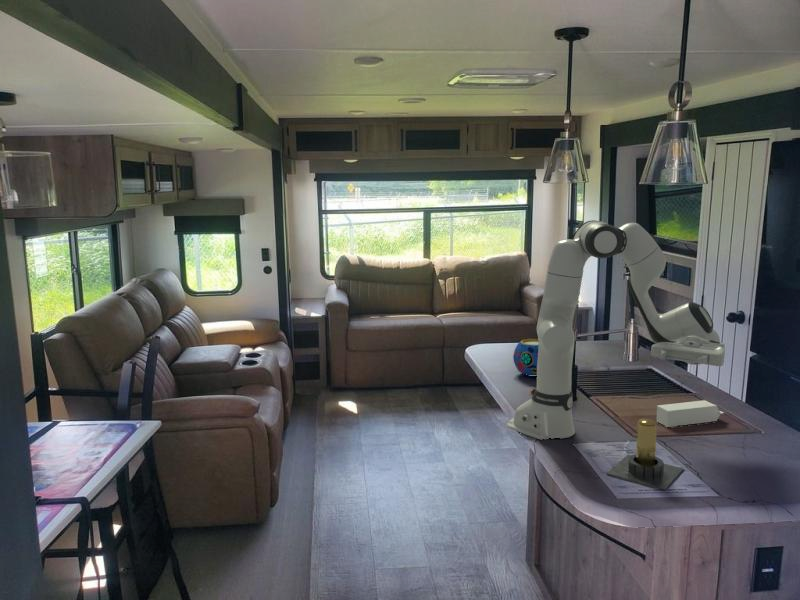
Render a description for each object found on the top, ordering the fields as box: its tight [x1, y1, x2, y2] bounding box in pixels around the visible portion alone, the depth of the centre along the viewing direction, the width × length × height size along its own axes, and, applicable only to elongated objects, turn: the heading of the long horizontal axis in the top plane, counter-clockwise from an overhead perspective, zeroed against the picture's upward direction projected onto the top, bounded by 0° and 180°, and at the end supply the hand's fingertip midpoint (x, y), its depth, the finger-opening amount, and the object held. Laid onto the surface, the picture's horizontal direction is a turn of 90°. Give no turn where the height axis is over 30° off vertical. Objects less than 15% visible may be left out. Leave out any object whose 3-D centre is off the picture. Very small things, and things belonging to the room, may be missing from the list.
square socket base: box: [606, 453, 685, 492], centre depth 181 cm, size 16×16×4 cm
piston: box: [635, 418, 658, 466], centre depth 180 cm, size 5×5×15 cm
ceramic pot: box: [512, 338, 539, 375], centre depth 276 cm, size 18×18×15 cm
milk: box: [656, 399, 724, 428], centre depth 219 cm, size 6×6×22 cm
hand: (679, 359), depth 186 cm, fingers open, 8 cm apart
